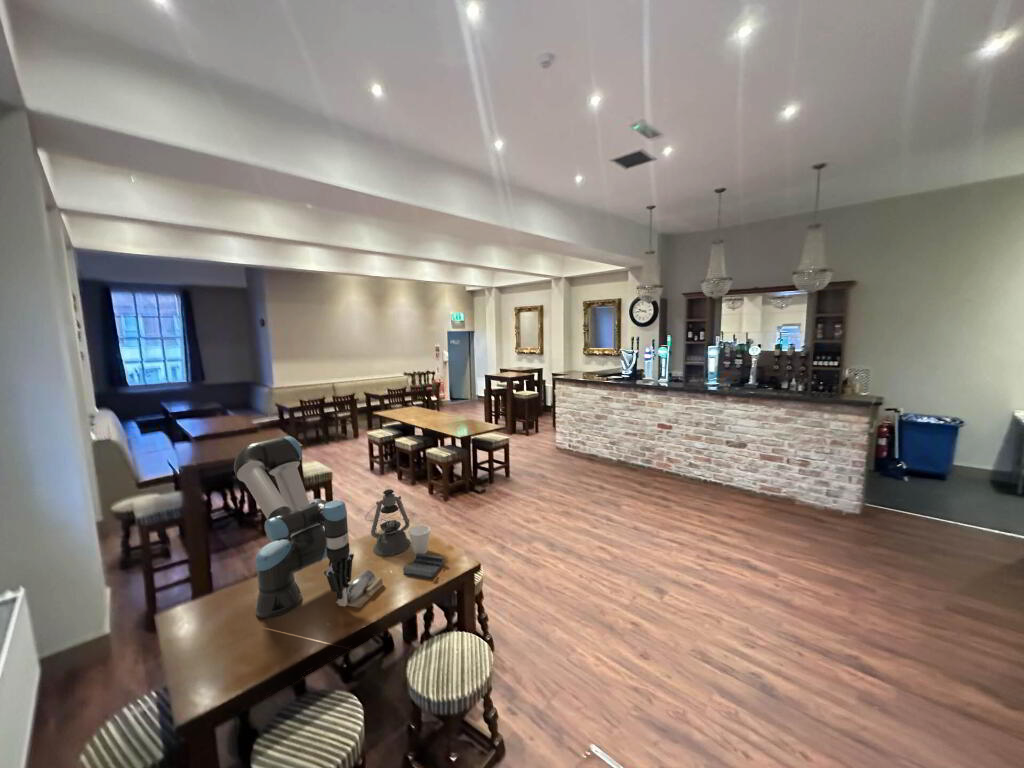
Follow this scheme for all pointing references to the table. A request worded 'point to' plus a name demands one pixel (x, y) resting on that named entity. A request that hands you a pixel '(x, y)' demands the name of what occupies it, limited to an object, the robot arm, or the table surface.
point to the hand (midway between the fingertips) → (343, 604)
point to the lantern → (390, 527)
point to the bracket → (366, 592)
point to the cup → (419, 538)
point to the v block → (424, 566)
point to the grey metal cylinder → (359, 586)
